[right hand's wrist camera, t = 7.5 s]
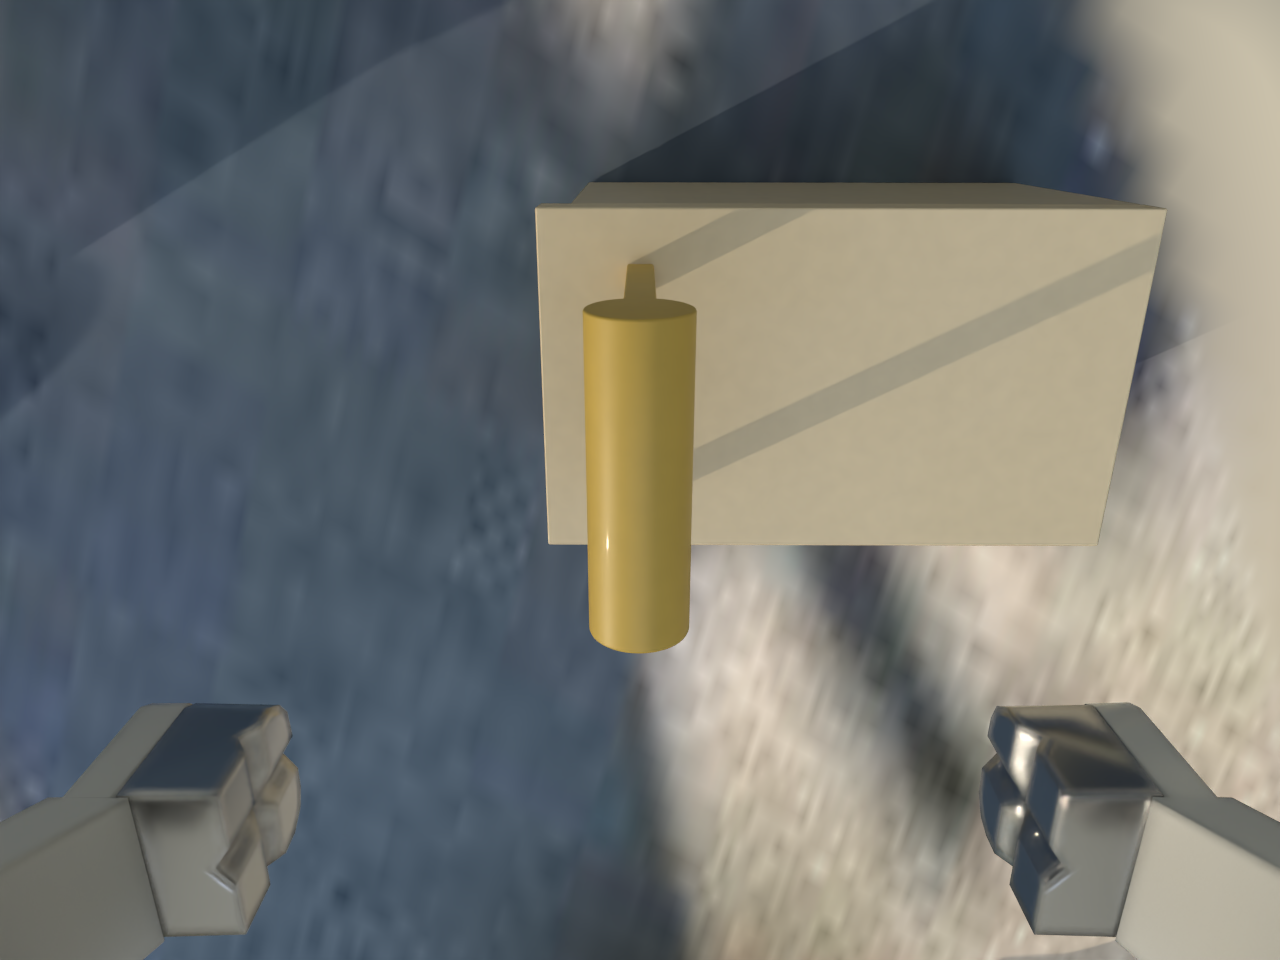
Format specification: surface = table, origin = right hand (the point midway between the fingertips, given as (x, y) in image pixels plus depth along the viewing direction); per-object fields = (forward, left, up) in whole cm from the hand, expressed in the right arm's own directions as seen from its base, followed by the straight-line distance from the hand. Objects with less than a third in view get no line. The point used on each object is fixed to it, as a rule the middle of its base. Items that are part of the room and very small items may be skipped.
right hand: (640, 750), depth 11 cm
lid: (+2, +5, -17) cm, 17 cm away
